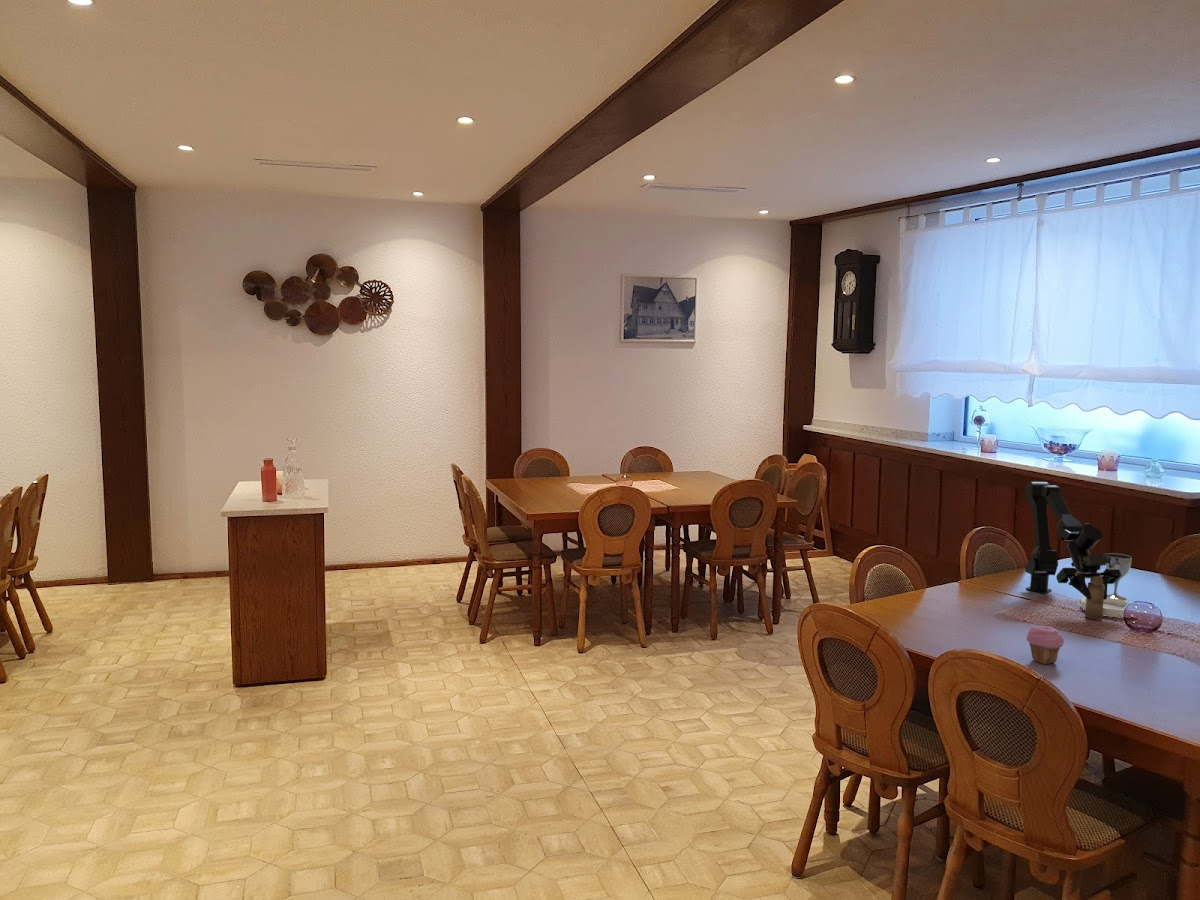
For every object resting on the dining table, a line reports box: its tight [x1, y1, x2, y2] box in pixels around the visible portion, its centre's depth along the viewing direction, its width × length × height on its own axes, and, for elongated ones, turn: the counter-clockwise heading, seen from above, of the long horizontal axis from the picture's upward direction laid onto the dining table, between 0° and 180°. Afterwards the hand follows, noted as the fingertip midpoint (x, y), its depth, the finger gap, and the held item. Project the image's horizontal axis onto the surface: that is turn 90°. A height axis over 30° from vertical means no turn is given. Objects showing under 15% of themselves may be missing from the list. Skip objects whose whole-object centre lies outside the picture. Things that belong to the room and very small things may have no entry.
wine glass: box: [1105, 552, 1133, 601], centre depth 306 cm, size 8×8×15 cm
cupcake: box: [1026, 625, 1065, 665], centre depth 237 cm, size 9×9×10 cm
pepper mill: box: [1084, 576, 1105, 620], centre depth 280 cm, size 5×5×14 cm
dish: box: [1079, 596, 1131, 618], centre depth 289 cm, size 16×16×3 cm
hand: (1097, 598), depth 278 cm, fingers closed on pepper mill, 5 cm apart
